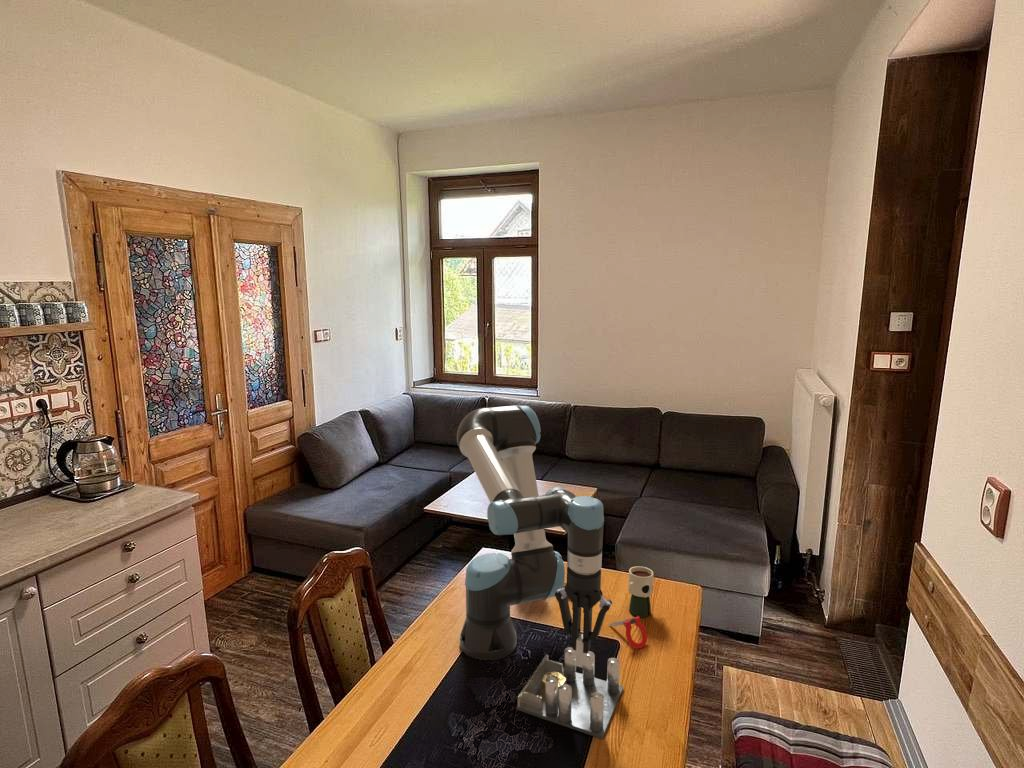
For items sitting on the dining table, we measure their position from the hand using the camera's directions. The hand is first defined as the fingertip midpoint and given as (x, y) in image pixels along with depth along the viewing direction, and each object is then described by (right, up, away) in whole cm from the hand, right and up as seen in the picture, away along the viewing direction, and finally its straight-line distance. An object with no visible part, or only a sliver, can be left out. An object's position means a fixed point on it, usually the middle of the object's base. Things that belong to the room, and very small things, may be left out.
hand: (580, 663), depth 127 cm
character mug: (+22, -4, +38) cm, 44 cm away
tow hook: (+17, -8, +24) cm, 30 cm away
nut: (-6, -8, +3) cm, 11 cm away
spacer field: (-2, -9, +2) cm, 9 cm away
